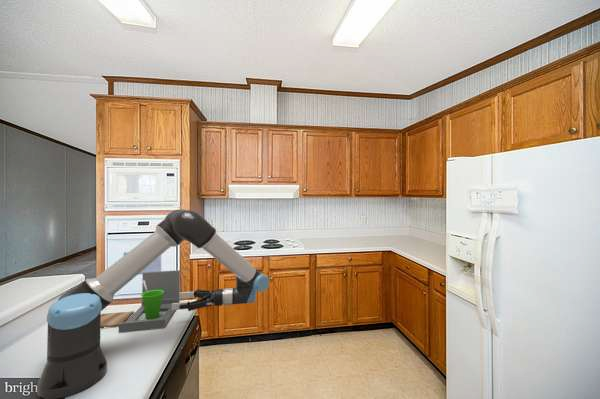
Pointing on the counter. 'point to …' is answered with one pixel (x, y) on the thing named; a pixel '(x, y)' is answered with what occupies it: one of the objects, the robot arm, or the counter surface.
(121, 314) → the board
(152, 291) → the cup
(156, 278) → the equipment case
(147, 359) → the counter surface
